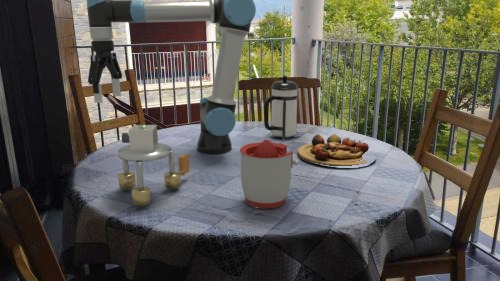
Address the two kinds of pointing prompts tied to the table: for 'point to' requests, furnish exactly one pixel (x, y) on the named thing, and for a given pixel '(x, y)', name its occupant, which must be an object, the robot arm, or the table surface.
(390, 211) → the table surface
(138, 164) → the tribrach stand
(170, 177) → the lever
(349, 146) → the wooden plate with food
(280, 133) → the coffee press
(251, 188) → the citrus juicer
